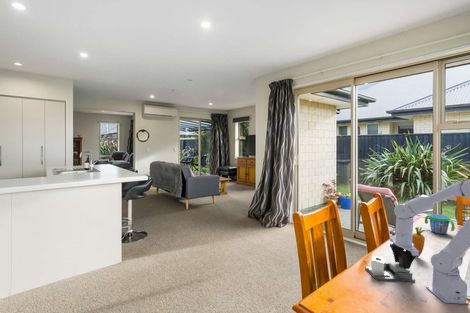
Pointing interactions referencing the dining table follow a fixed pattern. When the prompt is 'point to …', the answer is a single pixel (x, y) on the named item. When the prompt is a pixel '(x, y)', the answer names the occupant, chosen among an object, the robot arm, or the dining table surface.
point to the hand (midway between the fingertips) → (402, 265)
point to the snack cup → (439, 223)
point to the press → (391, 275)
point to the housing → (378, 265)
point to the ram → (398, 266)
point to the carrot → (418, 240)
